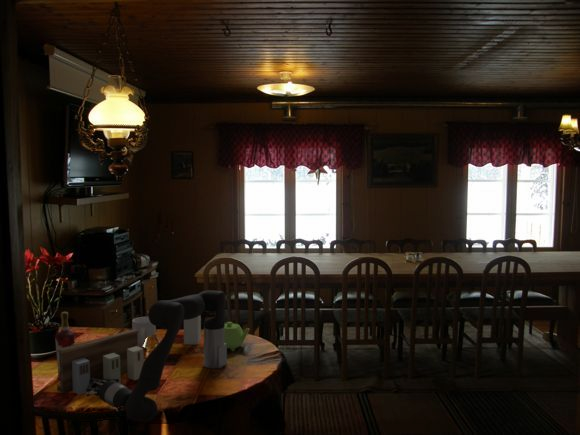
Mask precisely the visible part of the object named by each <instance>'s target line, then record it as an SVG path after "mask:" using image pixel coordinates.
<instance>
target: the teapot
mask: <svg viewBox="0 0 580 435" xmlns="http://www.w3.org/2000/svg"><path fill="white" fill-rule="evenodd" d="M249 332H250V328H249V327H246V328H245V330H244V331H243V329H242V327H241V326H240V324H238V323H233V322H232V321H227V322H225V343H227V349H230V351H231V350H233V351H232V352H235V351H234V350H236V349H237V348H240V347H241V346H242V345H243V343H244V342H245V339H246V338H247V336H248V334H249ZM239 346H240V347H239ZM236 351H237V350H236Z"/></svg>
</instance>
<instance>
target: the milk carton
mask: <svg viewBox="0 0 580 435" xmlns="http://www.w3.org/2000/svg"><path fill="white" fill-rule="evenodd" d="M201 316H202V314H201V315H200V316H198V317H196V318H193V319H189V320H183V345H199V344H200V342H201V340H202V328H201V327H202V322H201V321H202V318H201Z"/></svg>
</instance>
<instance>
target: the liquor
mask: <svg viewBox="0 0 580 435" xmlns="http://www.w3.org/2000/svg"><path fill="white" fill-rule="evenodd" d="M60 319H61V325H60V327H61V328H60V331H59V332H57V333H56V334H55V335H54V336H55V337H54V338H55V350H56V362H57V363H56V364H57V378H56V380H58V381H59V382H60V362H59V352H58V349H60V348H64V347H68V346H72V345H76V333H75V332H73V331H72V330H70V328H69V320H68V319H69V312H68V311H62V312H60Z"/></svg>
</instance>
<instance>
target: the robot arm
mask: <svg viewBox="0 0 580 435" xmlns="http://www.w3.org/2000/svg"><path fill="white" fill-rule="evenodd" d="M226 302H227V297H226V293H225V292H224V291H223V290H222V291H221V290H210V289H209V290H208V289H207V290H203V291H201V292H199V293H197V294H196V293H195V294H190V295H185V296H182V297H177V298H174V299H169V300H167V299H166V300H163V299H162V300H157V301H155V302H154V303H153V304H152V305H151V306H150V308H149V310H148V314H147V315H148V316H147V317H149V321H150V322H151V323H152V324H153V325H155V326H156V327H158V328H163V329H164V328H165V329H166V332H165V334H164V336H163V337H162V339H161V341H160V342H159V343H157V345H156V346H155V348H153V350H151V351H150V352H149V354H147V356H146V358H144V359H145V360H144V363H143V366H142V369H141V373H140V376H139V379H137V382H136V384H135V386H134V387H133V389H130V388H129V387H127V386H125V385H124V384H122V383H121V384H120V383H119V379H107V378H105V379H103V380H100V379H99V380H98V379H96V378H91V379H90V380H89V385H88V387H87V389H86V393H85V394H86V397H91V395H94V396H98V397H99V399H100V400H101V401H102V402H104V403H106V404H107V405H108V406H111V407H112V408H116V409H117V408H118V407H121V406H124V407H125V408H126V411H127V417H126V419H129V420H134V421H140V422H149V421H152V420H154V418H155V417H156V416H157V414H158V405H157V403H156V401H155V400H154V399H153V398H151V397H148V396H146V395H147V394H148V393H149V392H153V391H156V390H158V389H159V386H160V383H161V379H162V376H163V372H164V368H165V365H166V362H167V360H168V357H169V354H170V352H171V349H172V347H174V346H173V345H174V343H175V341H176V339H177V336H178V334H179V331H180V329H181V327H182V324H183V322H184V320H189V319H193V318H196V317H198V316H200V315H201V316H202V314H203V313H204V312H210V313H211V312H212V313H215V314H214V316H212V317H209V318H207V319H204V321H203V366H204V368H207V369H221V368H222V367H224V366H226V365H227V364H228V360H227V359H228V348H227V343H225V323H226V306H227V303H226Z"/></svg>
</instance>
